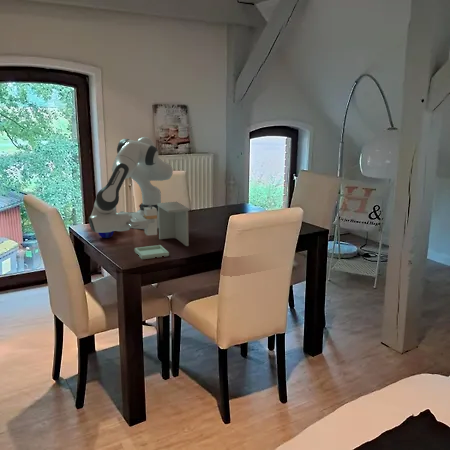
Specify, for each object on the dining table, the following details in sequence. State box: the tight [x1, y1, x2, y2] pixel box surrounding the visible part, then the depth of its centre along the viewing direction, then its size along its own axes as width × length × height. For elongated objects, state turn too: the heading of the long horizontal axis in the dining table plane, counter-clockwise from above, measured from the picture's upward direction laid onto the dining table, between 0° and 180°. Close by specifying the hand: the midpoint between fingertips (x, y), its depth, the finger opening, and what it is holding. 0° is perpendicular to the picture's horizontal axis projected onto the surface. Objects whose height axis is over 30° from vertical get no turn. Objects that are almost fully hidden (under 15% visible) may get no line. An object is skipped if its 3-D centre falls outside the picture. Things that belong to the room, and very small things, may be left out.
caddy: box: [143, 204, 158, 236], centre depth 240 cm, size 5×5×14 cm
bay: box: [157, 201, 190, 247], centre depth 262 cm, size 11×20×20 cm, turn 25°
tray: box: [134, 244, 170, 260], centre depth 244 cm, size 14×14×2 cm
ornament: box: [97, 231, 115, 239], centre depth 271 cm, size 11×9×15 cm
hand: (152, 218), depth 240 cm, fingers closed on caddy, 5 cm apart
